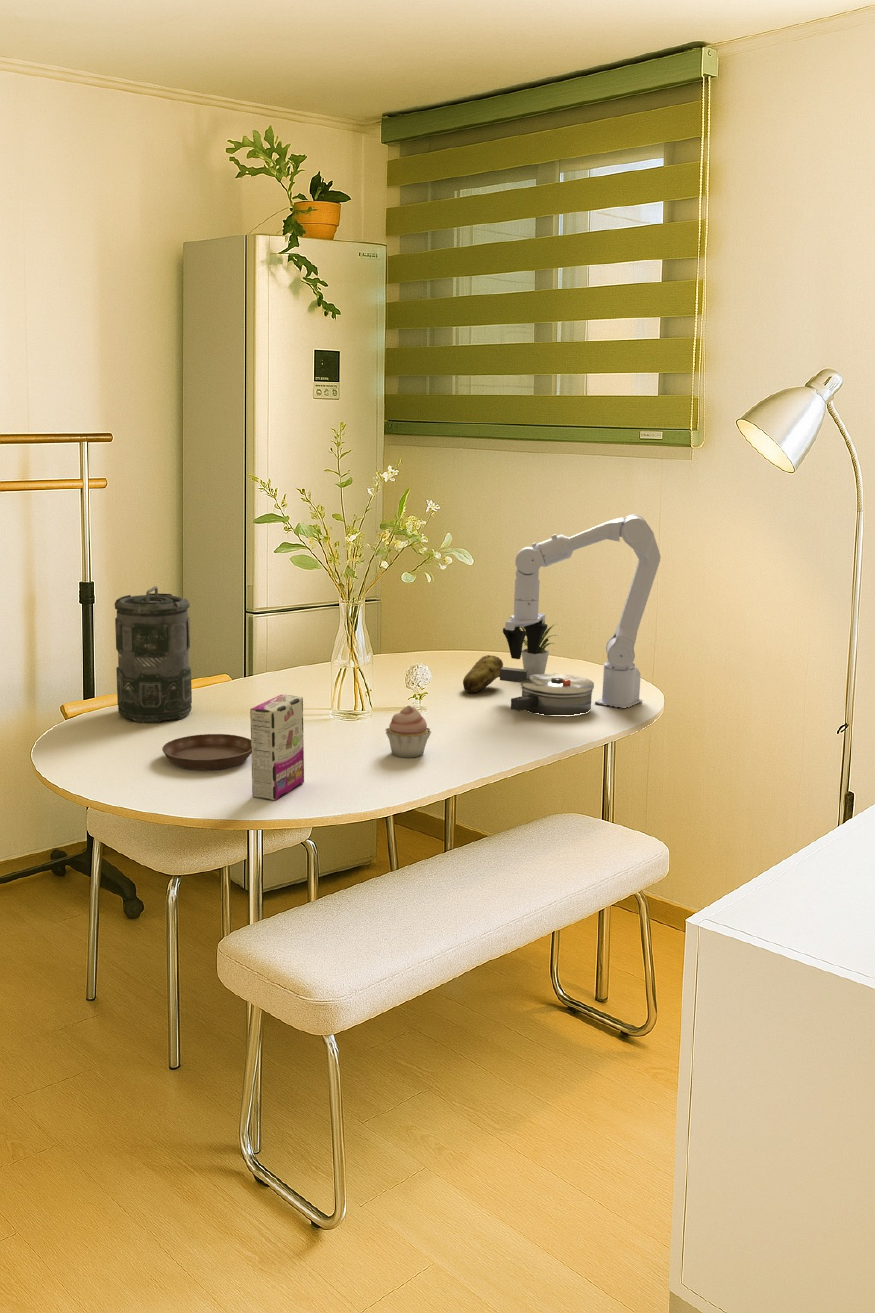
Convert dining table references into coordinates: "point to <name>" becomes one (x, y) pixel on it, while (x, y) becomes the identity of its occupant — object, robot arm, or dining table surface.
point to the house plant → (536, 656)
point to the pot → (552, 703)
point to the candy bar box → (277, 747)
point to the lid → (547, 681)
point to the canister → (153, 657)
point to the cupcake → (408, 733)
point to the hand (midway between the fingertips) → (524, 656)
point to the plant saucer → (208, 751)
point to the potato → (482, 673)
